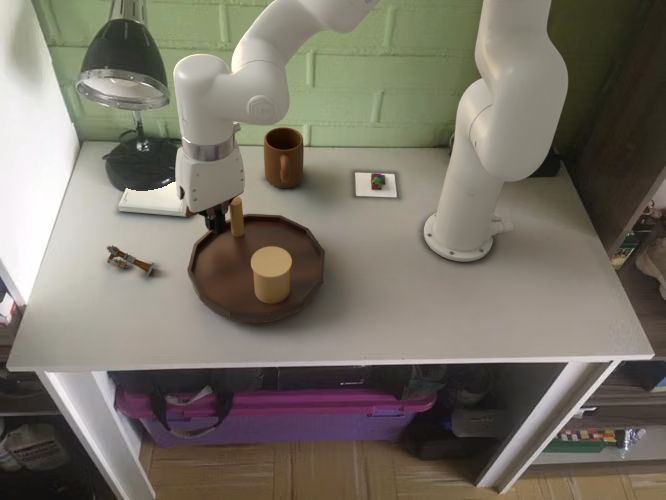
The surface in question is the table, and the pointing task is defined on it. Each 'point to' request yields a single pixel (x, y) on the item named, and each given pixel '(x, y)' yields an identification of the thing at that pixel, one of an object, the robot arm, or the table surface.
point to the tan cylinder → (271, 274)
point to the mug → (283, 157)
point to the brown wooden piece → (127, 260)
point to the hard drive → (153, 201)
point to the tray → (237, 274)
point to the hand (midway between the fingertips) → (216, 229)
